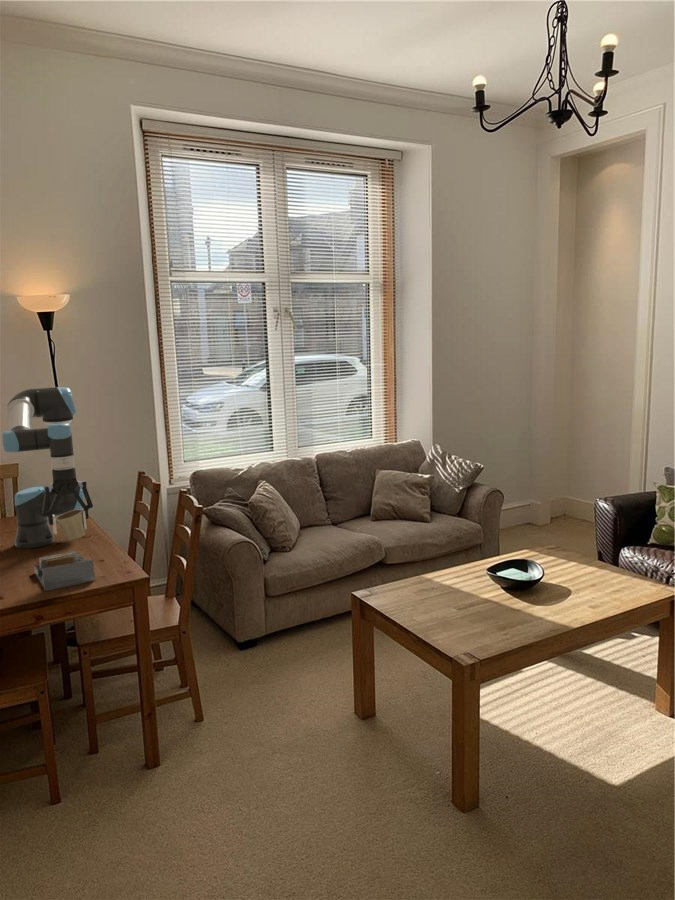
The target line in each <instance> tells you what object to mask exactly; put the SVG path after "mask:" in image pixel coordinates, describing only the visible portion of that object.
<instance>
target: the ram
mask: <svg viewBox="0 0 675 900" xmlns="http://www.w3.org/2000/svg"><path fill="white" fill-rule="evenodd" d="M79 555H80V554H79V553H78V551H77V550H73V551H68V552H64V553H58V554H54V555H53V554H51V555H47V556H41V557H39V558H38V560H39V567H40V568H41V570H42V569H43V568H48V567H53V566H58V565H64V564H69V563H74V562H79Z"/></svg>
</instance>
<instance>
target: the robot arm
mask: <svg viewBox="0 0 675 900" xmlns="http://www.w3.org/2000/svg"><path fill="white" fill-rule="evenodd" d="M74 402H75V401H74V398H73V394H72V391H71V389H70V387H61V386H55V387H53V386H52V387H41V388H40V387H39V388H29V389H24V390H22V391H20V392H18V393H16V394H15V395H14V396H13V397H12V398H11V399H10V400H9V402H8V404H7V408H6V411H7V412H6V413H7V416H8V417H9V430H7V431H3V432H2V435H1V436H2V438H1V439H2V447H3V451H4V452H6V453H21V452H22V453H23V452H30V451H33V452H34V451H41V450H43V451H44V450H49V454H50V465H51V470H52V471H51V472H52V482H51V483H50V485H44V486H33V487H27V488H25V489H22V490H19V491H17V492H16V493H15V494H14V506H15V512H16V513H15V514H16V522H17V529H16V535H15V538H14V547H15V548H17V549H21V550H22V549H23V550H24V549H25V550H28V549H36V548H42V547H45V546H48V545H51V544H53V543H54V542H55V535H57V534H58V531H57V521H56V519H55V518H56V517H58V516H59V515H61V514H64V513H66V512H69V511H73V510H77V509H81V510H82V521H83V525H84V530H87V529H88V527H87V519H89V510H90V509H93V507H94V505H93V501H92V500H91V497H90V493H89V491H88V489H87V481H85V480H82V481H79V480H77V473H76V468H75V465H76V463H75V455H74V453H75V452H74V445H73V444H74V442H73V435H72V434H73V432H72V427H71V423H72V421H73V420H74V416H75V415H77V410H76V406H75V403H74ZM35 418H42V422H43V423H44V424H45V425H47V427H43V428H33V419H35ZM84 498H85V499H84ZM84 501H86V504H85V502H84ZM51 526H52V528H51Z"/></svg>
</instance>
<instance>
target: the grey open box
mask: <svg viewBox="0 0 675 900" xmlns="http://www.w3.org/2000/svg"><path fill="white" fill-rule="evenodd" d="M78 555H79V562H74V563H69V564H64V565H58V566H53V567H48V568H43V569H42V570H41V568H40V564H39V562H37V563H34V564H33V566H34V568H33V569H34V574H35V576H36V577H37V580H39V583H40V585H41V586H42V588H43V590H44V592H48V591H52V590H56V589H57V590H58V589H62V588H66V587H72V586H76V585H81V584H84V583H89V582H90V583H91V582H94V581H96V578H95V568H94V567H95V566H94V560H93V559H92V558H91V559H84V558H83V556H82V555H80V554H78Z"/></svg>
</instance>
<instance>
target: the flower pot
mask: <svg viewBox="0 0 675 900" xmlns="http://www.w3.org/2000/svg"><path fill="white" fill-rule="evenodd" d="M55 519H56V524H58V525H59V527H60V529H61V531H62V532H63V534H64V536H65V537H66V540H67V541H75V539H80V538H81V537H83V536H85V534H86V531H85V530H86V529H84V525H83V521H82V510H81V509H77V510H73V511H69V512H66V513H64V514H61V515H59V516H55Z"/></svg>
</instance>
